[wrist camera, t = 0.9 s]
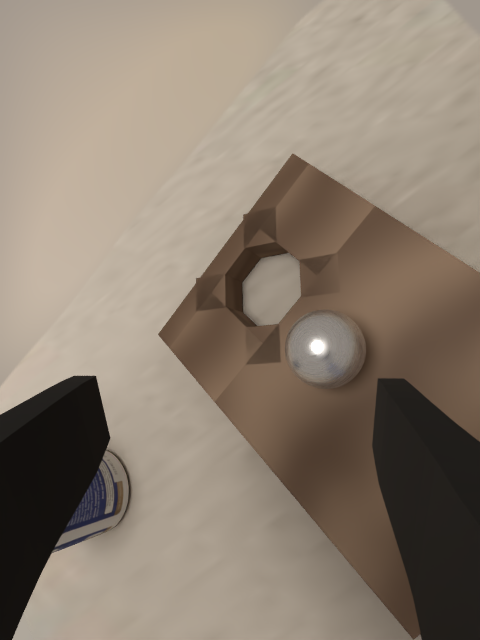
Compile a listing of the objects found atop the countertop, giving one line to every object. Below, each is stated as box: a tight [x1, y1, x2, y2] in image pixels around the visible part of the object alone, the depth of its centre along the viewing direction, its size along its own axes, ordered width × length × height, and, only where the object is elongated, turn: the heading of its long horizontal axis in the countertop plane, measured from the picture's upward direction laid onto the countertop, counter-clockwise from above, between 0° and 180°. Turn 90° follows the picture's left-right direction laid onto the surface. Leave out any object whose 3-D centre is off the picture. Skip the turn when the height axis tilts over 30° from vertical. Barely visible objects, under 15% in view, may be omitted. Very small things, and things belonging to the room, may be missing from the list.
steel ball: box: [285, 309, 366, 389], centre depth 18 cm, size 4×4×4 cm
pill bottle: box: [52, 451, 129, 553], centre depth 24 cm, size 5×5×10 cm
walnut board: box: [158, 154, 480, 639], centre depth 20 cm, size 19×13×2 cm
